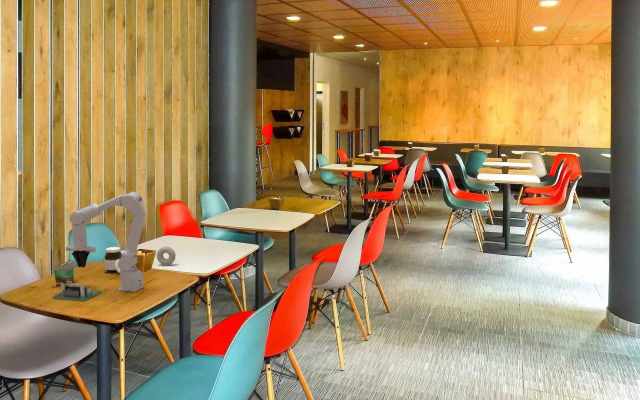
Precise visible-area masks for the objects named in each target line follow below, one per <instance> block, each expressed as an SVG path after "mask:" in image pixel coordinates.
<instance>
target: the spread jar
mask: <svg viewBox="0 0 640 400" xmlns="http://www.w3.org/2000/svg"><path fill="white" fill-rule="evenodd" d="M105 252H106V253H105V255H104V263H103V264H104V271H105V272H107V273H110V274H111V273H112V274H114V273H116V274H117V273H118V274H120V269H119V267H118V261H119V260H120V259H121V257H122V254H123V252H122V251H121V247H120V246H111V247H107V248H105Z"/></svg>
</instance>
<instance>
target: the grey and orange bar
mask: <svg viewBox="0 0 640 400" xmlns="http://www.w3.org/2000/svg"><path fill="white" fill-rule="evenodd" d="M81 286H84V288H89V287H91V286H92V285H91V284H87V283H86V284H81V283H80V284H79V283H72V284H69V283H66V287H81Z"/></svg>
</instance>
